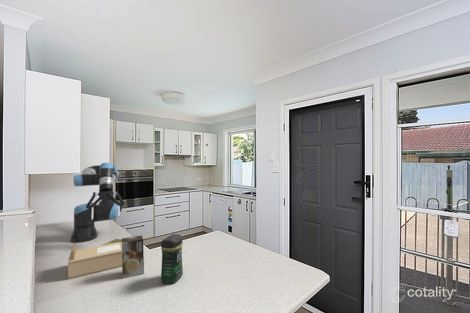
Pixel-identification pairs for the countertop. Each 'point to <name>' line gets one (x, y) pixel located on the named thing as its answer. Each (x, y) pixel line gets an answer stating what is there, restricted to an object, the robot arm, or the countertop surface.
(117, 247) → the lid
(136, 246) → the coffee box
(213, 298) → the countertop surface
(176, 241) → the coffee jar
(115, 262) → the box
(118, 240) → the carton
